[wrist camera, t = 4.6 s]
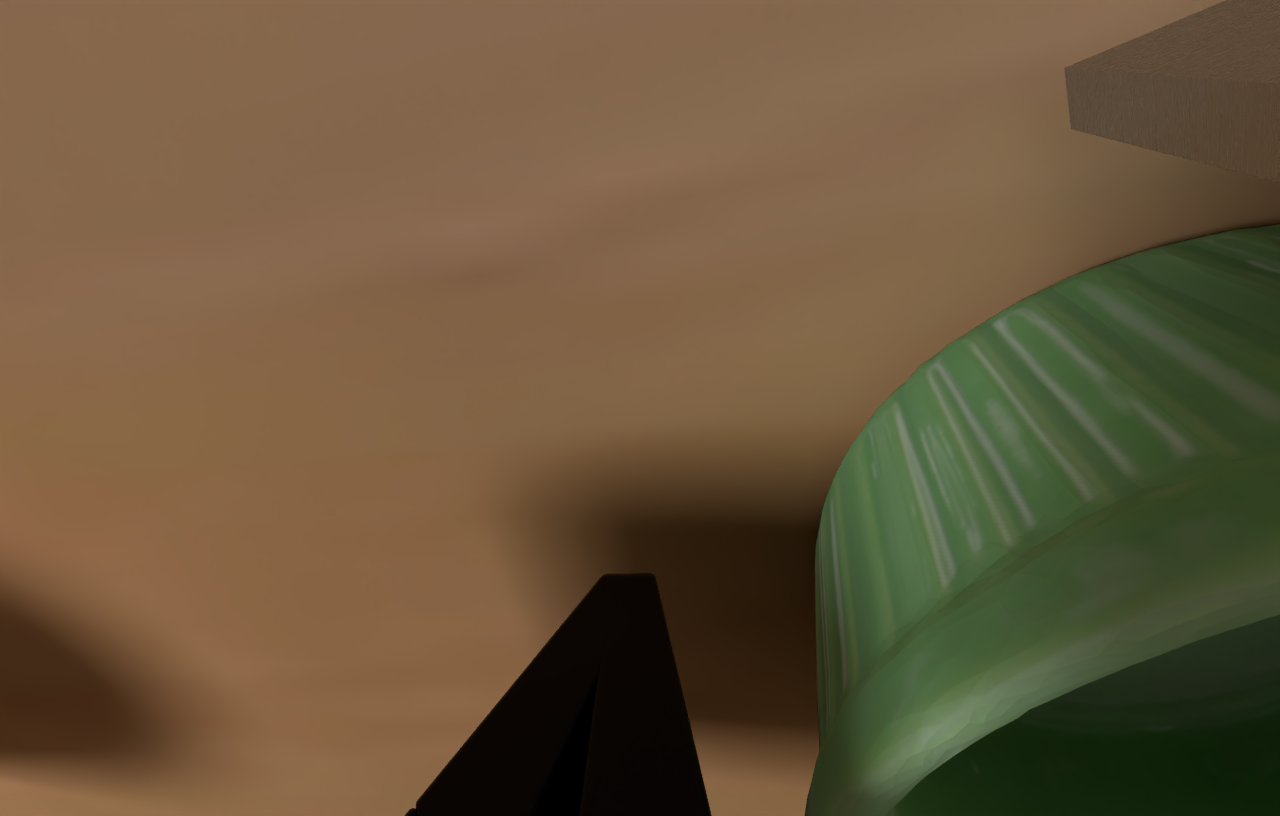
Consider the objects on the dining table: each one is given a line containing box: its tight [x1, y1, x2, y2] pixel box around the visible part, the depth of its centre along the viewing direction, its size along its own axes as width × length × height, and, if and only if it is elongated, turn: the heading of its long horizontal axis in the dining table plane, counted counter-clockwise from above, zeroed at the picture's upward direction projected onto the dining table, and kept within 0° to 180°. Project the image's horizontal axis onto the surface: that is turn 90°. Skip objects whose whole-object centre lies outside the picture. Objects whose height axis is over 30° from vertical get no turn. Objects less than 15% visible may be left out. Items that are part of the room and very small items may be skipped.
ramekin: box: [805, 225, 1280, 816], centre depth 6 cm, size 9×9×4 cm
